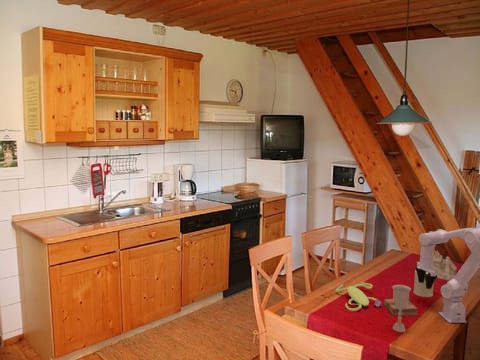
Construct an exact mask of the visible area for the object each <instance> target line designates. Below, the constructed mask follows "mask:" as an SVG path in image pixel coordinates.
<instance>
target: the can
mask: <svg viewBox="0 0 480 360" xmlns="http://www.w3.org/2000/svg"><path fill="white" fill-rule="evenodd" d="M426 274H428V272H426ZM434 283H435V282H434ZM434 283H433V285H432V288H431V289H427V288H426V280H425V279H424V283H419V281H418V275H417V272H416V270H415V269H414V285H413V294H414V295H416V296H419V297H421V298H431V297H433V296H434V285H435V284H434Z"/></svg>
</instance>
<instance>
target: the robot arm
mask: <svg viewBox="0 0 480 360" xmlns="http://www.w3.org/2000/svg"><path fill="white" fill-rule="evenodd" d="M458 238H460V239H461V240H462V241H464V242H465V244H466V246H467V248H468V249H469V250H470V252H471V254H470V255H469V256H468V258H466V260H465V262H464V263H463V264H462V266H461V267H460V269H459V270H458V271H457V272H456V276H455V277H454V278H453V279H452V280H450V281H447V283H446V284H444V285H442V286H441V288H440V294H441V296H442V298H443V306H442V311H441V312H438V314H439V315H440V316H441V317H442V318H443V319H444V320H445V321H446V322H448V323H449V324H450V323H452V324H453V323H454V324H455V323H462V324H463V323H465V324H466V323H467V322H468V321H467V320H466V314H467V312H466V311H467V308H466V306H465V305H464V303H463V298H464V296H466V295H467V293H468V292H467V291H468V290H467V289H468V288H469V285H468V283H469V281H470V280H471V279H472V278H473V277H474V275H475V274H476V272H477V271H478V269H480V227H465V228H459V229H455V230H451V231H447V230H444V229H441V228H440V229H437V230H436V231H429V232H425V233H421V234H419V236H418V242H419V244H420V255H419V261H417V262H416V267H414V271H415V270H416V272H417V275H418V281H419V283H424V279H425V280H426V288H427V289H431V288H432V285H433V286H434V284H433V283H435V281H436V279H438V278H437V275H436V272H435V271H434V268H433V257H434V254H435V248H436V245H439V244H446V243H448V242H449V240H451V239H458ZM426 272H428V274H426Z"/></svg>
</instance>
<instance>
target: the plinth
mask: <svg viewBox="0 0 480 360" xmlns="http://www.w3.org/2000/svg"><path fill="white" fill-rule="evenodd" d="M383 306H384V307H385V308H386V309H387V310H388V312H389V313H390V314H391V315H392V316H399V314H398V313H399V309H397V307H396V305H395V303H394V302H393V298H385V299H384V300H383ZM401 312H402V315H401V316H418V308H417V307H416V306H415V305H414V304H413V303H412V302H411V301H410V300H409V301H408V306H406V307H405V308H404V309H403V310H402V311H401Z"/></svg>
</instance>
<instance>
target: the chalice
mask: <svg viewBox="0 0 480 360" xmlns="http://www.w3.org/2000/svg"><path fill="white" fill-rule="evenodd" d="M392 290H393V292H392V293H393V294H392V299H393V300H394V303H395V305H396V307H397V309H399V313H398V314H399V315H397V320H398V321H397V322H395V323H394V324H393V326H392V329H393V331H396V332H400V333H403V332H406V327H405V325H404V323H402V319H403V315H402V312H401V311H402V310H403V309H404V308H405V307H406V305H407V303H408V301H410V291H411V290H412V288H411V287H410V286H407V285H404V284H395V285H392Z"/></svg>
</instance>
